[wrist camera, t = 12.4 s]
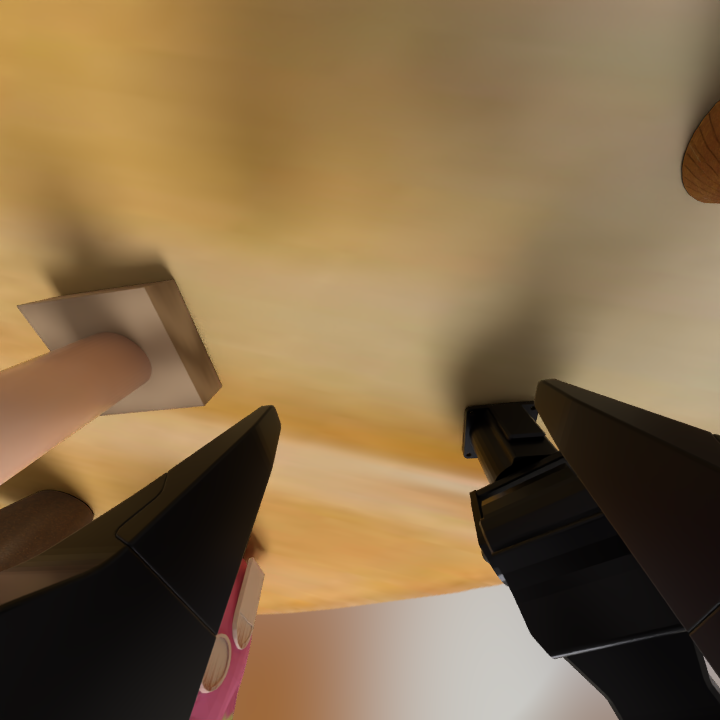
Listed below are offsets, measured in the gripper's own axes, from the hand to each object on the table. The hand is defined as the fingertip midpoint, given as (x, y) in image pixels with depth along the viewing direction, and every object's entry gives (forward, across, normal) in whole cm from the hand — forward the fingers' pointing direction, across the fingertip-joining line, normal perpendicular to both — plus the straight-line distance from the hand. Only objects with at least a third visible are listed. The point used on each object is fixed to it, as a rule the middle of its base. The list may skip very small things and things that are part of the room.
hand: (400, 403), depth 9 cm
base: (+13, +21, +1) cm, 25 cm away
